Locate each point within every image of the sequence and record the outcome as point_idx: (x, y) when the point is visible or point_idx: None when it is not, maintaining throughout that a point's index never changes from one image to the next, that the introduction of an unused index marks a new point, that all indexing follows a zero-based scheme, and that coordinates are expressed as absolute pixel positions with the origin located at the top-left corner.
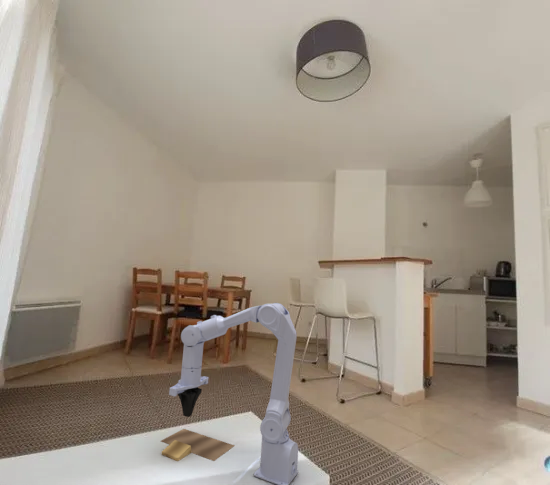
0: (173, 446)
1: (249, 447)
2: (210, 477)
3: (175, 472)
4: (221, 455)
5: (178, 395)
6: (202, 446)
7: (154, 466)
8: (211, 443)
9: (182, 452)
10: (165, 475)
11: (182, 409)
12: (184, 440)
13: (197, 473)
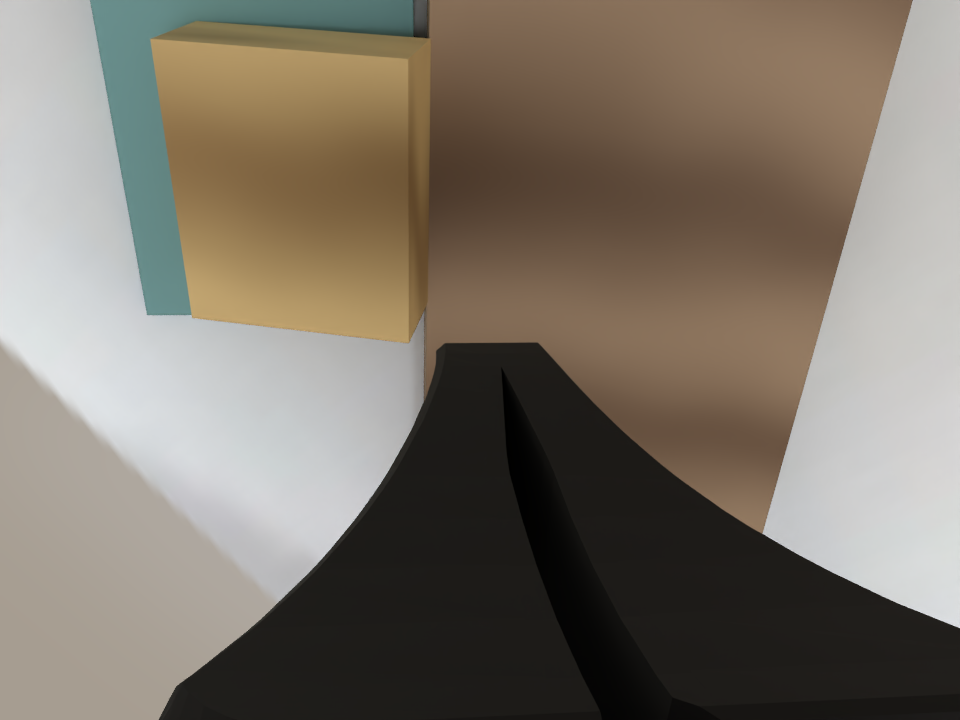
0: (301, 134)
1: (852, 560)
2: (292, 568)
3: (143, 317)
4: None
5: (242, 642)
6: (601, 317)
7: (48, 49)
8: (708, 351)
9: (281, 313)
10: (39, 276)
11: (425, 398)
12: (635, 23)
13: (267, 470)
